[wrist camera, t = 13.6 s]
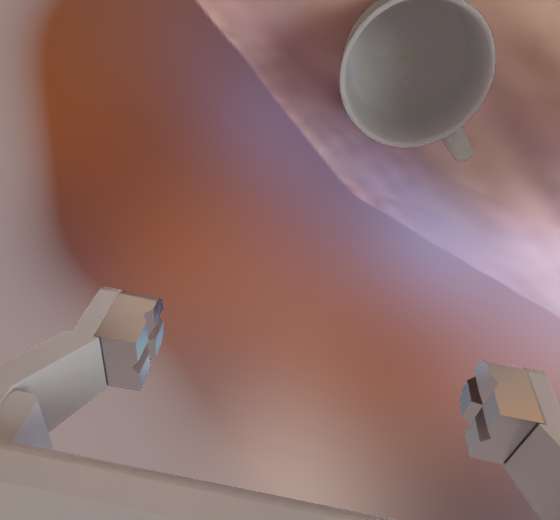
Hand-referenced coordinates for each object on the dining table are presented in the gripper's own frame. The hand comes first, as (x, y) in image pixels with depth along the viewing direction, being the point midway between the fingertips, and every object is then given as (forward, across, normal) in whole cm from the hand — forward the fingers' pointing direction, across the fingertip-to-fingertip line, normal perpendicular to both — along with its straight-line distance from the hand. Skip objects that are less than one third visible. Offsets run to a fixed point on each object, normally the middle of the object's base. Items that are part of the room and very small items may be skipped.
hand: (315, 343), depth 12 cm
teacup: (+35, -6, +2) cm, 36 cm away
